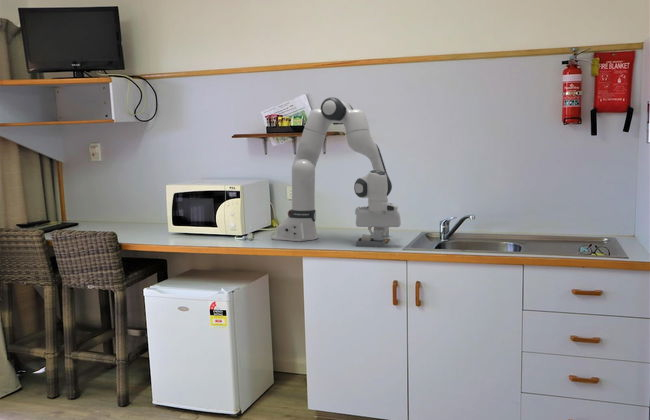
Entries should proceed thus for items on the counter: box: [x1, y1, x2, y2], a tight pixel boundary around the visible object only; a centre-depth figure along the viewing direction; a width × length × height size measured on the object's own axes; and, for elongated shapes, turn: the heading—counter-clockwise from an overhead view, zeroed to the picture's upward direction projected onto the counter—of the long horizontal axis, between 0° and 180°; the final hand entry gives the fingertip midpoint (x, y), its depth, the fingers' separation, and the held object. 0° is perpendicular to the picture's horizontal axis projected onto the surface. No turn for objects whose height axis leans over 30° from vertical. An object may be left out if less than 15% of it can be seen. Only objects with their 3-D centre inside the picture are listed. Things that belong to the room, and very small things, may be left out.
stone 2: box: [372, 229, 384, 240], centre depth 283 cm, size 4×4×4 cm
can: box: [373, 227, 390, 238], centre depth 308 cm, size 8×8×12 cm
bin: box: [355, 237, 386, 249], centre depth 283 cm, size 12×9×3 cm
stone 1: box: [361, 233, 373, 241], centre depth 284 cm, size 4×4×4 cm
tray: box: [383, 237, 390, 245], centre depth 295 cm, size 14×11×1 cm
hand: (378, 236), depth 282 cm, fingers closed on stone 2, 4 cm apart
